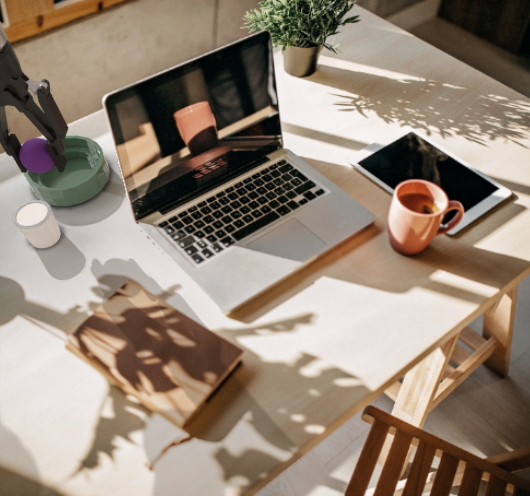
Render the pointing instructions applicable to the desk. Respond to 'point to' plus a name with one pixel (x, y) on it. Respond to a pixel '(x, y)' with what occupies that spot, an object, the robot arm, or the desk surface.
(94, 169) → the bowl
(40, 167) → the ball
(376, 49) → the desk surface
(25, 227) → the white cylinder
